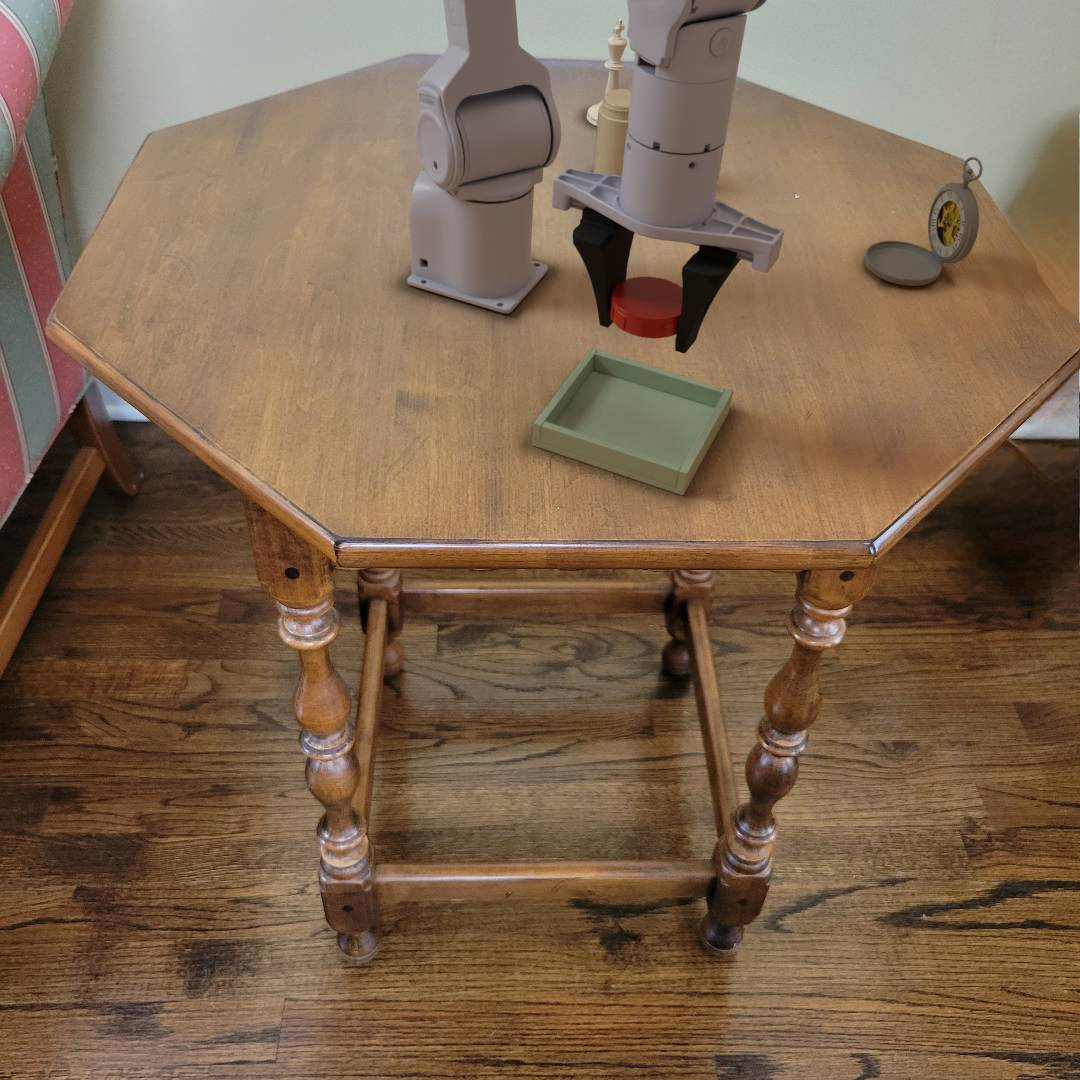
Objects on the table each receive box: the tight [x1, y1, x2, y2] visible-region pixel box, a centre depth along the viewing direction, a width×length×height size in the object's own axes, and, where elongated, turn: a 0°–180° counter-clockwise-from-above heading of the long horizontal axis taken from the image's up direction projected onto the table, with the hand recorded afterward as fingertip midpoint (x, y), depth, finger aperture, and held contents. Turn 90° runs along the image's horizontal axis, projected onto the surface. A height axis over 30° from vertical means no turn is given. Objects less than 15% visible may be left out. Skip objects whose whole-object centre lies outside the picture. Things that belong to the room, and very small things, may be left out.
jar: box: [592, 88, 631, 176], centre depth 100 cm, size 5×5×8 cm
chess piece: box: [586, 18, 628, 127], centre depth 110 cm, size 5×5×10 cm
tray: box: [532, 347, 734, 496], centre depth 76 cm, size 11×10×2 cm
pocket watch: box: [863, 156, 984, 287], centre depth 91 cm, size 8×8×10 cm
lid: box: [610, 276, 682, 339], centre depth 70 cm, size 5×5×2 cm
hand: (648, 332), depth 71 cm, fingers closed on lid, 5 cm apart
